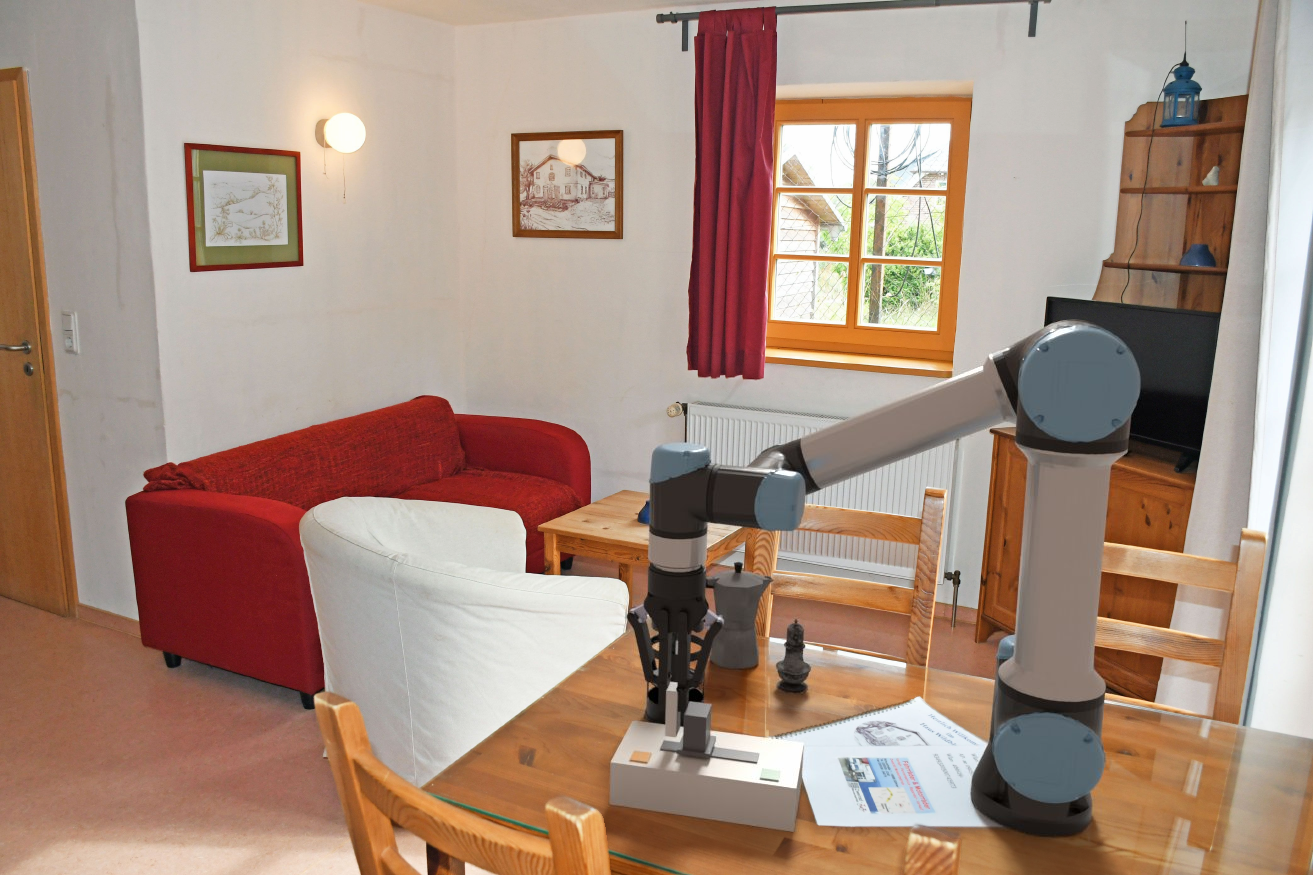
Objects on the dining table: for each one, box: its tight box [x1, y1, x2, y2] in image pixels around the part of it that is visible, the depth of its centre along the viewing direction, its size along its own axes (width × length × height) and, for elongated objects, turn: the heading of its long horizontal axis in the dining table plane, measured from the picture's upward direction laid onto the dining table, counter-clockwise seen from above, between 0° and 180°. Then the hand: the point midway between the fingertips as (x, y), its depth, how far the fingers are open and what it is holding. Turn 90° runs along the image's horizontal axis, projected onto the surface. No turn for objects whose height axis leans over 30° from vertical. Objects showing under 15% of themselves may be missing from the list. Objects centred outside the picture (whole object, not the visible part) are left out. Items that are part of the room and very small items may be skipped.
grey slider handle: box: [677, 701, 716, 758], centre depth 132 cm, size 4×5×5 cm
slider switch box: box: [609, 720, 805, 833], centre depth 133 cm, size 24×12×6 cm, turn 77°
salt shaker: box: [775, 618, 812, 695], centre depth 166 cm, size 6×6×12 cm
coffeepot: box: [704, 561, 775, 670], centre depth 176 cm, size 15×9×18 cm, turn 104°
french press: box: [644, 616, 706, 727], centre depth 154 cm, size 12×9×23 cm
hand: (672, 731), depth 133 cm, fingers closed
